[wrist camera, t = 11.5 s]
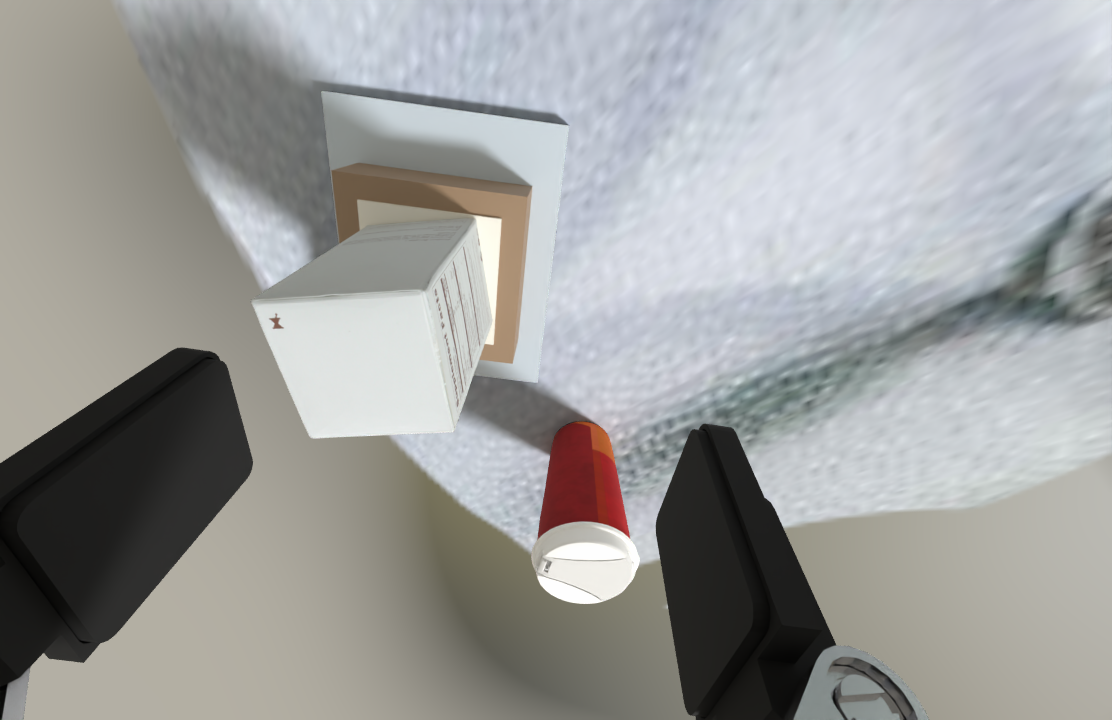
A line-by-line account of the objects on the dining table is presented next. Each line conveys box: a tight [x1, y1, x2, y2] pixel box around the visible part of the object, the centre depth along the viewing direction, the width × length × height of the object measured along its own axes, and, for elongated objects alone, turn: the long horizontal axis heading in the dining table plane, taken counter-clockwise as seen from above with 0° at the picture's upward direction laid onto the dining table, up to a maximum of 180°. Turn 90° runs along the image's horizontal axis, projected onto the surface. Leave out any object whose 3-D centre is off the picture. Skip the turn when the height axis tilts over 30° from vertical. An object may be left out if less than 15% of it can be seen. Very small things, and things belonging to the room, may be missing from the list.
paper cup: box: [531, 422, 640, 604], centre depth 38 cm, size 8×8×14 cm
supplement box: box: [251, 218, 493, 438], centre depth 25 cm, size 7×7×13 cm
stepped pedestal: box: [321, 91, 569, 383], centre depth 33 cm, size 20×16×5 cm
